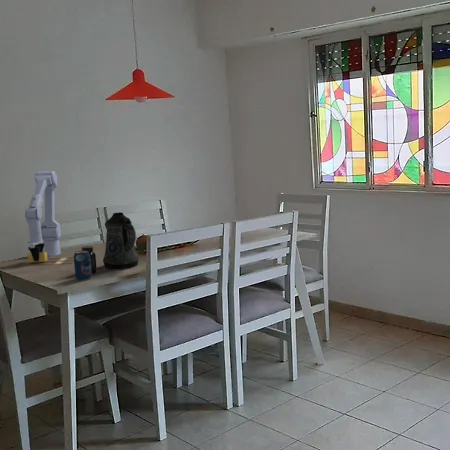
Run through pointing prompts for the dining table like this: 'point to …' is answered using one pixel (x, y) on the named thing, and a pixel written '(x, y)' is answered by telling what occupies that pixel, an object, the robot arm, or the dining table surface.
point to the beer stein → (120, 243)
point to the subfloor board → (52, 261)
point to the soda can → (82, 265)
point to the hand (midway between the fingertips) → (38, 259)
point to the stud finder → (41, 257)
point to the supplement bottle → (91, 258)
